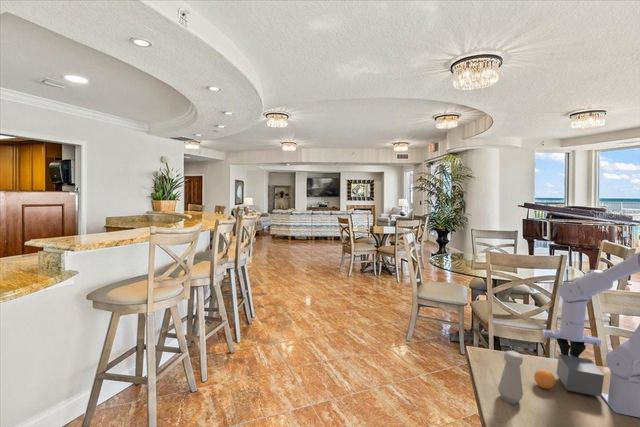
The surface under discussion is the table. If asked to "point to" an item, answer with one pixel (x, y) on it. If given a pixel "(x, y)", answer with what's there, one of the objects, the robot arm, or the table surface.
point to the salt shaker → (511, 378)
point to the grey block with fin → (580, 375)
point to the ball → (544, 379)
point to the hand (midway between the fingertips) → (568, 363)
